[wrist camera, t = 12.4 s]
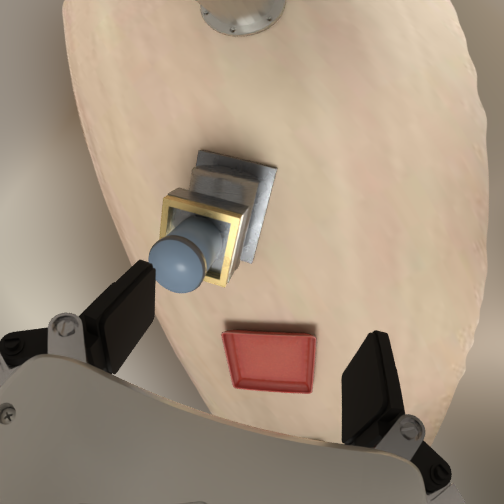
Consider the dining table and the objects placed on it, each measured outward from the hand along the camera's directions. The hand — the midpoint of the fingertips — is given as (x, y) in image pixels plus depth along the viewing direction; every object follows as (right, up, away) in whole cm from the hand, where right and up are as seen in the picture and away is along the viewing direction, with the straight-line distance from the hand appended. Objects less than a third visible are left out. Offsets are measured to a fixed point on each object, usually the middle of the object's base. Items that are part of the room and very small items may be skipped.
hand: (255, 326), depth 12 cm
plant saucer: (+4, -19, +47) cm, 51 cm away
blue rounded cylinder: (-6, +4, +22) cm, 24 cm away
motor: (-4, +10, +34) cm, 35 cm away
